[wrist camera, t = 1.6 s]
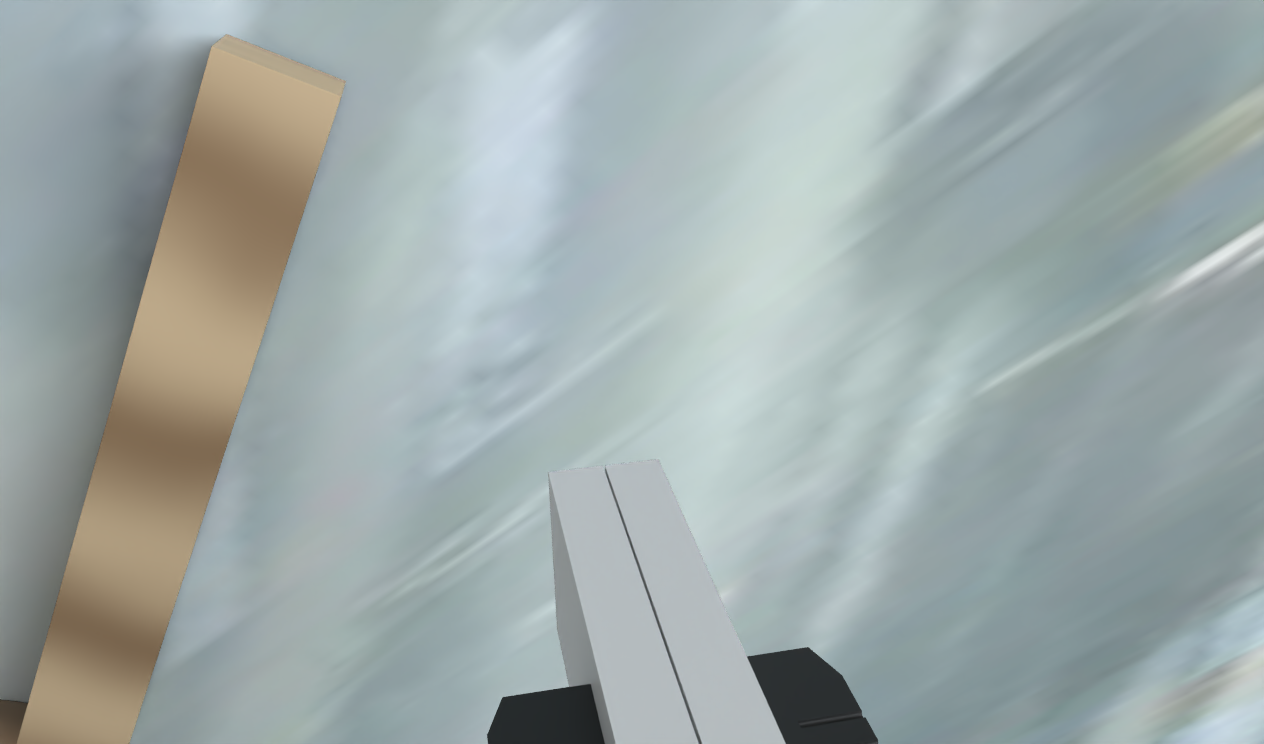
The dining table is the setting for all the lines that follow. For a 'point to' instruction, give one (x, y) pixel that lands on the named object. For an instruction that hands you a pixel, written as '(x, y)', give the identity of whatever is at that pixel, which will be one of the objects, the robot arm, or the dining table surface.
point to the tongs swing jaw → (180, 385)
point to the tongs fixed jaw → (11, 720)
